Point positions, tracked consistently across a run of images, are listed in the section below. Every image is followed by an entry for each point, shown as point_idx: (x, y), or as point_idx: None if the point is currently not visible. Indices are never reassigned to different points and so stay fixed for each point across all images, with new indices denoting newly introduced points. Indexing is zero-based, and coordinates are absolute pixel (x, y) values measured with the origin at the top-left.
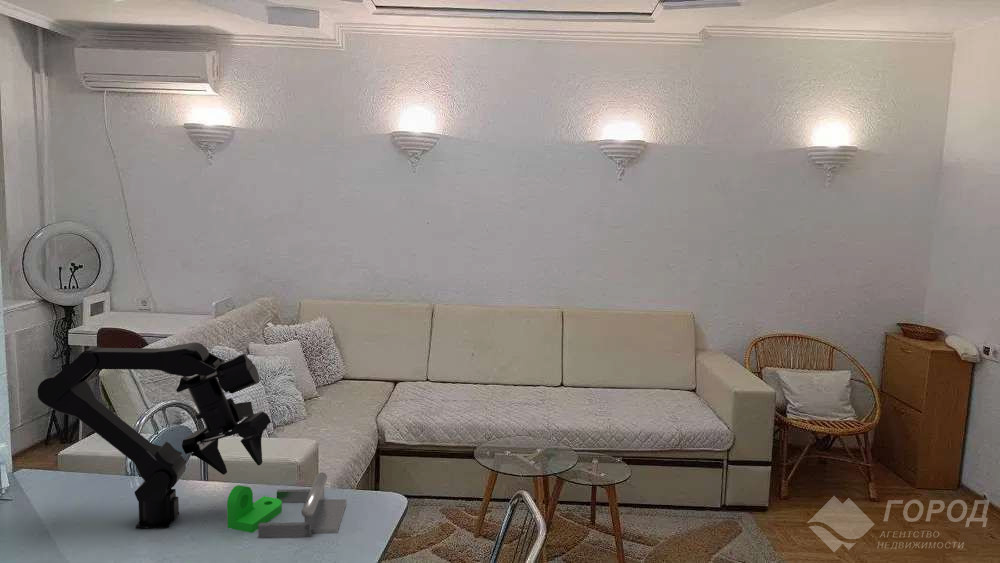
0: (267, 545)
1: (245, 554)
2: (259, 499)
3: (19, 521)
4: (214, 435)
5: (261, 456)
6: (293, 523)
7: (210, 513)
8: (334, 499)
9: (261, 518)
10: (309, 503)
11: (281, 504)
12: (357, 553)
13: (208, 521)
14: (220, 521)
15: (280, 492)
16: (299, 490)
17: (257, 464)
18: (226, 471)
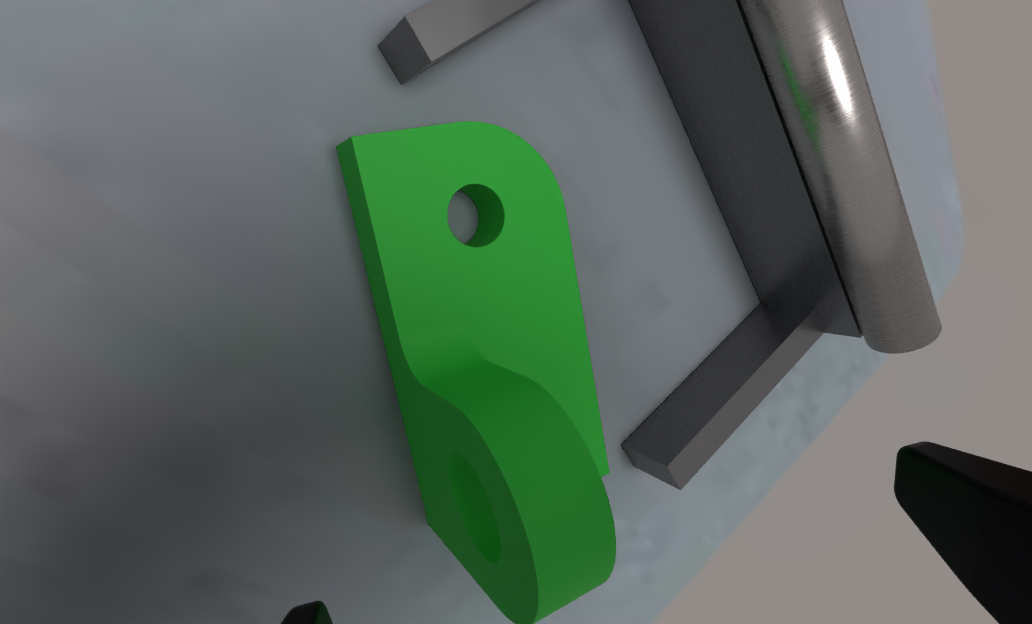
0: (704, 476)
1: (686, 584)
2: (376, 205)
3: None
4: None
5: (1026, 482)
6: (783, 353)
7: (116, 504)
8: None
9: (595, 393)
10: (928, 303)
11: (549, 173)
12: (934, 296)
13: (240, 575)
14: (314, 514)
15: (454, 48)
16: None
17: (914, 518)
18: (321, 616)
